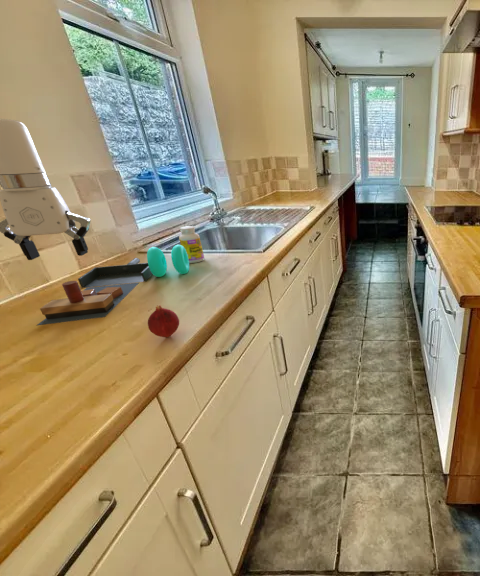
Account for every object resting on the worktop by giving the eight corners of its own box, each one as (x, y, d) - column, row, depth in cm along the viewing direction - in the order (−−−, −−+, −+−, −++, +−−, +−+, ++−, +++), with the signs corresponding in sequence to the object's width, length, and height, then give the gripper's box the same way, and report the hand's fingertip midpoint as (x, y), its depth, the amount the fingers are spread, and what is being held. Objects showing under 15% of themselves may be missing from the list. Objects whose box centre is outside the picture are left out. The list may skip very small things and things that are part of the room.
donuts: (187, 277, 106) (179, 248, 102) (152, 281, 102) (142, 252, 98) (191, 267, 114) (184, 240, 110) (159, 271, 111) (150, 244, 107)
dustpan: (145, 282, 102) (142, 272, 101) (81, 288, 98) (77, 278, 96) (165, 262, 120) (162, 253, 119) (111, 266, 115) (108, 258, 114)
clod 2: (98, 299, 90) (96, 293, 89) (109, 293, 94) (106, 287, 93) (113, 299, 90) (110, 292, 89) (123, 293, 94) (120, 287, 93)
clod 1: (74, 303, 88) (71, 296, 87) (79, 297, 91) (76, 291, 90) (93, 300, 89) (90, 293, 89) (97, 295, 93) (94, 288, 92)
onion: (188, 334, 74) (179, 303, 70) (161, 346, 69) (150, 314, 66) (174, 327, 76) (165, 297, 73) (148, 339, 72) (136, 307, 68)
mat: (36, 326, 77) (36, 325, 77) (87, 288, 98) (86, 287, 97) (105, 317, 81) (105, 316, 81) (140, 283, 101) (139, 282, 101)
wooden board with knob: (45, 320, 79) (30, 289, 76) (57, 311, 84) (43, 282, 80) (107, 312, 83) (95, 283, 79) (115, 304, 87) (104, 276, 84)
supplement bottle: (191, 264, 117) (182, 230, 112) (181, 261, 121) (172, 228, 115) (208, 259, 123) (200, 226, 117) (198, 256, 126) (190, 224, 121)
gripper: (-41, 185, 64) (2, 265, 71) (63, 182, 69) (94, 257, 76) (-12, 182, 71) (25, 255, 78) (82, 179, 75) (108, 248, 82)
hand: (59, 256), depth 77 cm, fingers open, 9 cm apart
